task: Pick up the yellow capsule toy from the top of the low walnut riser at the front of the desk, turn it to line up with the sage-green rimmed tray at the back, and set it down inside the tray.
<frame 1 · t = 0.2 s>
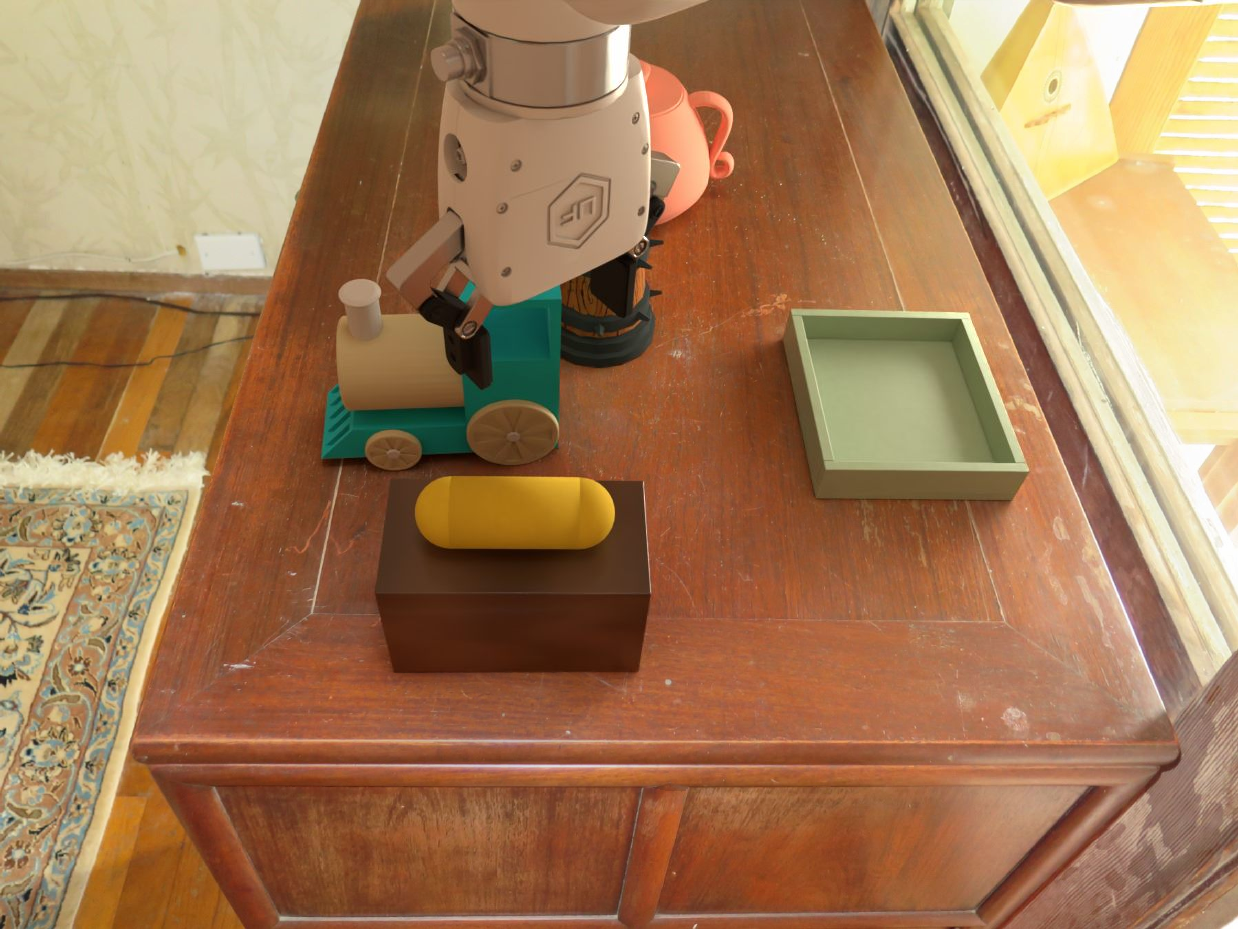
hand: (543, 337, 56), 17 cm above the table, tool pointing down, fingers open, 9 cm apart
toy train: (442, 430, 73), on the table
teapot: (612, 192, 93), on the table
yellow capsule toy: (516, 533, 56), point 9 cm above the table, touching riser
riser: (518, 615, 63), on the table
mug: (578, 327, 81), on the table
tray: (890, 414, 77), on the table
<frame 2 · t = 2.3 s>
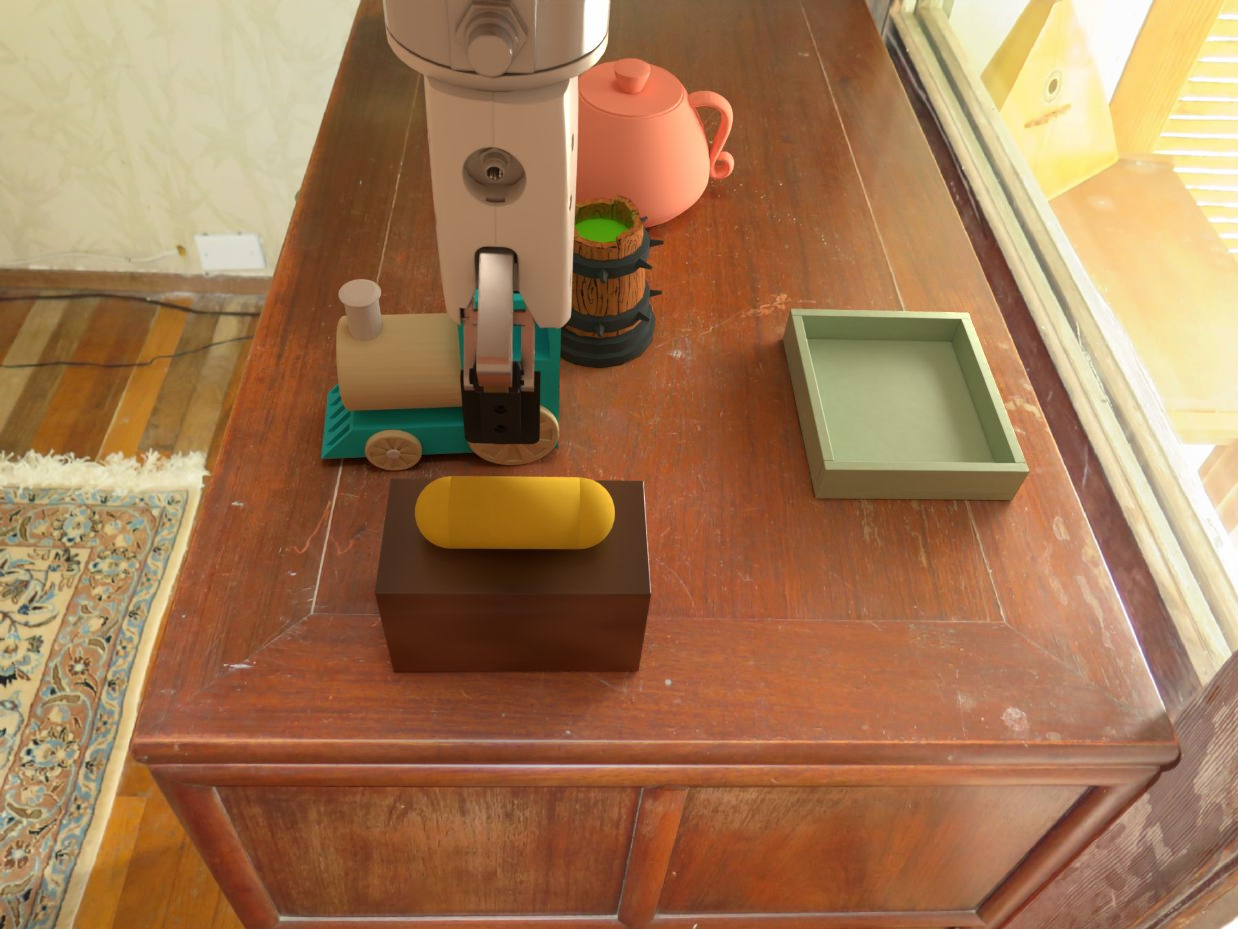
hand: (506, 359, 46), 23 cm above the table, tool pointing down, fingers open, 9 cm apart
nothing on the table moved.
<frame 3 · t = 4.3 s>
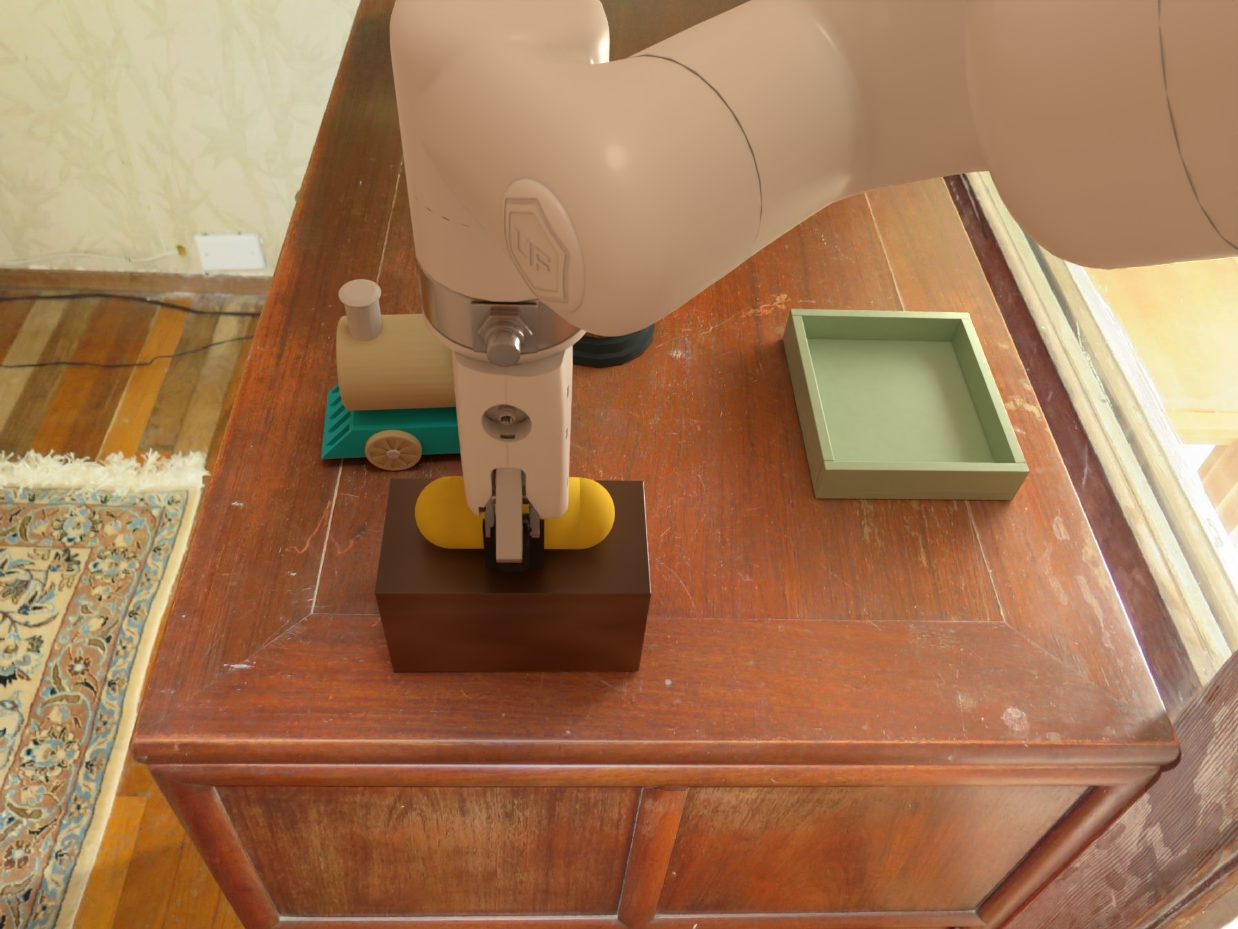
hand: (516, 528, 56), 10 cm above the table, tool pointing down, fingers closed on yellow capsule toy, 4 cm apart
yellow capsule toy: (516, 533, 56), point 9 cm above the table, touching gripper, riser
everything else where it was.
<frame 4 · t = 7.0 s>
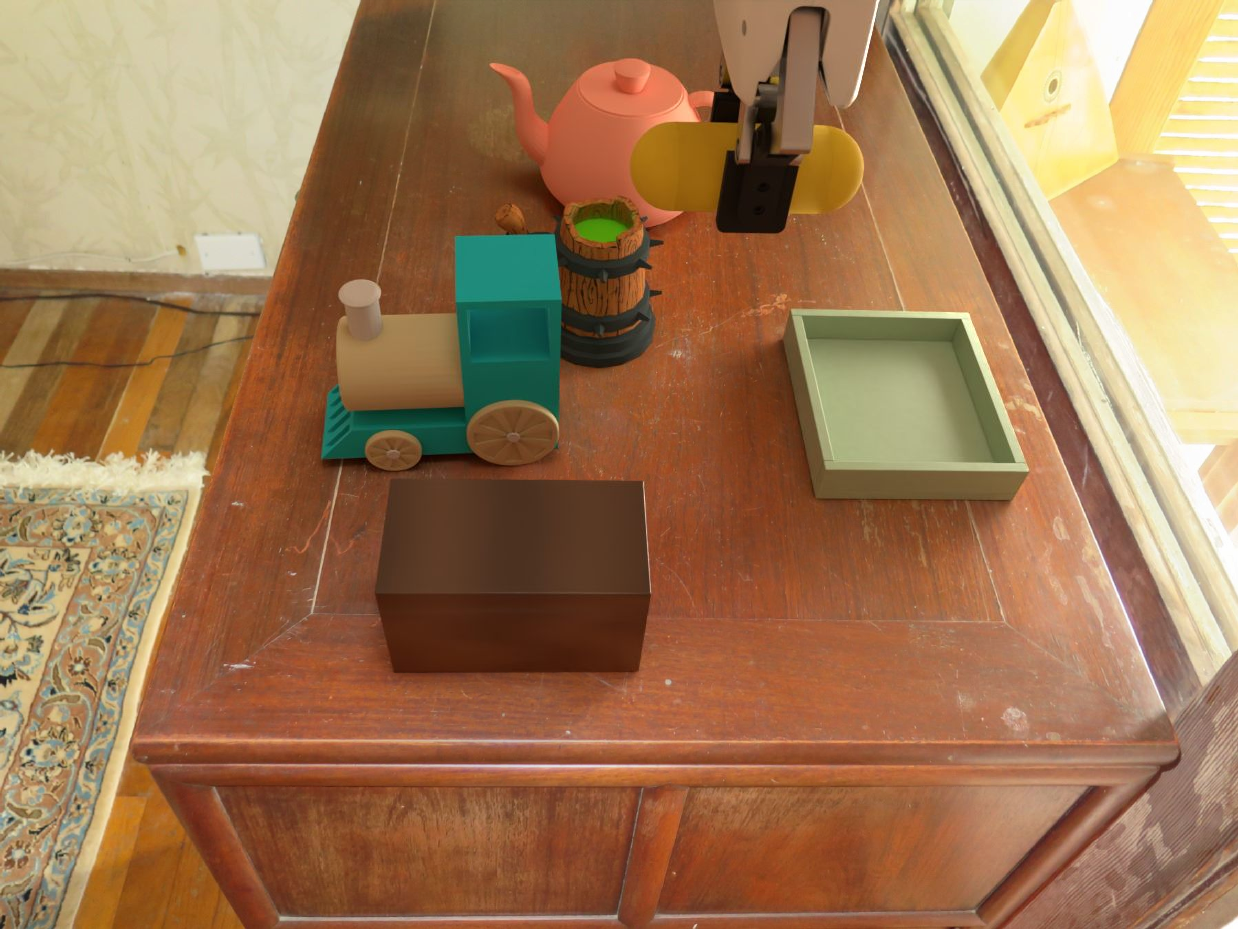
hand: (742, 195, 47), 27 cm above the table, tool pointing down, fingers closed on yellow capsule toy, 4 cm apart
yellow capsule toy: (740, 204, 48), point 27 cm above the table, touching gripper
everything else where it was.
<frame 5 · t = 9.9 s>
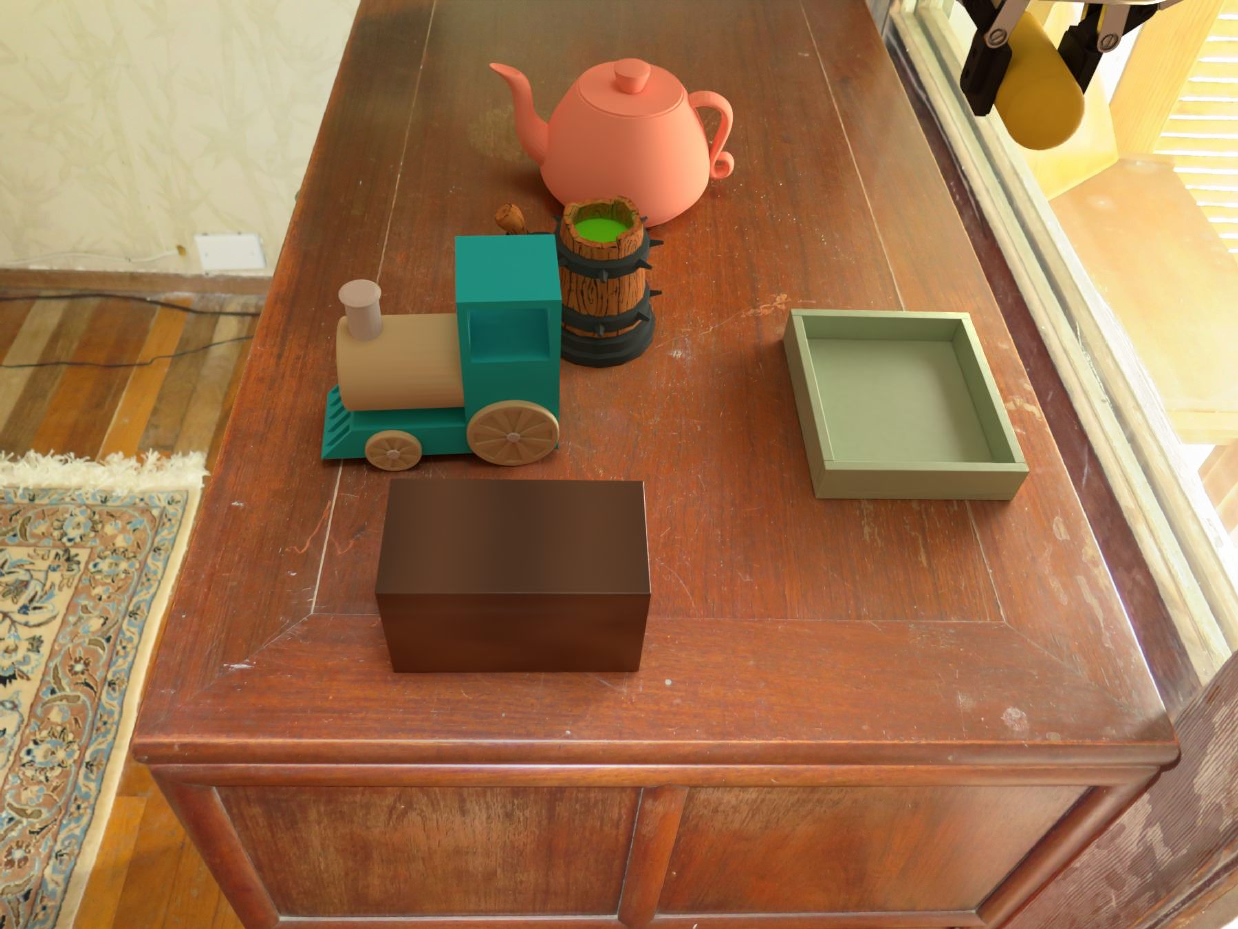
hand: (1015, 102, 56), 26 cm above the table, tool pointing down, fingers closed on yellow capsule toy, 4 cm apart
yellow capsule toy: (1011, 109, 57), point 26 cm above the table, touching gripper
everything else where it was.
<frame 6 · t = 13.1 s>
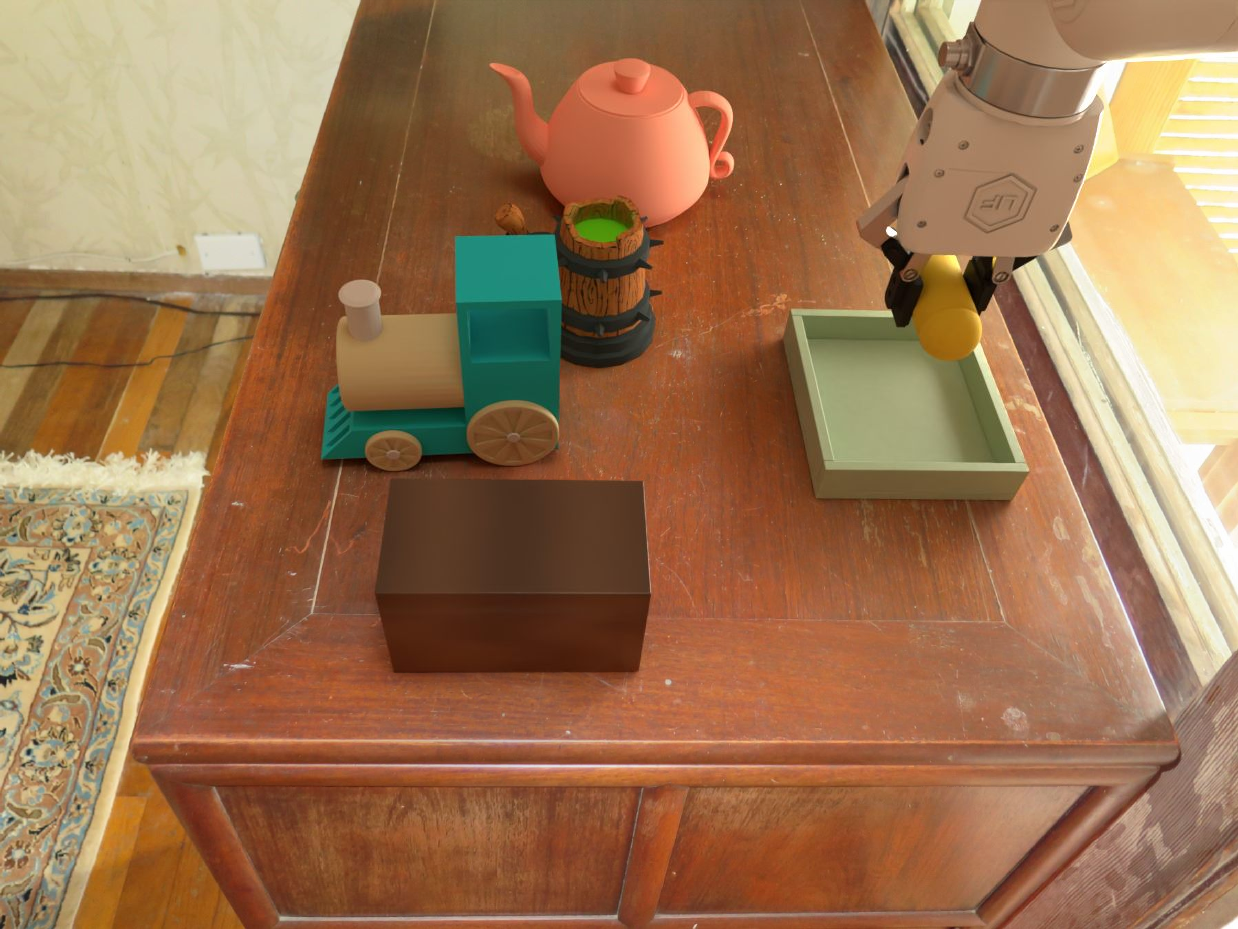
hand: (930, 312, 69), 10 cm above the table, tool pointing down, fingers closed on yellow capsule toy, 4 cm apart
yellow capsule toy: (928, 317, 69), point 10 cm above the table, touching gripper
everything else where it was.
when the fingers open (1 cm above the table, at t = 15.5 s): yellow capsule toy stays where it is, resting on tray.
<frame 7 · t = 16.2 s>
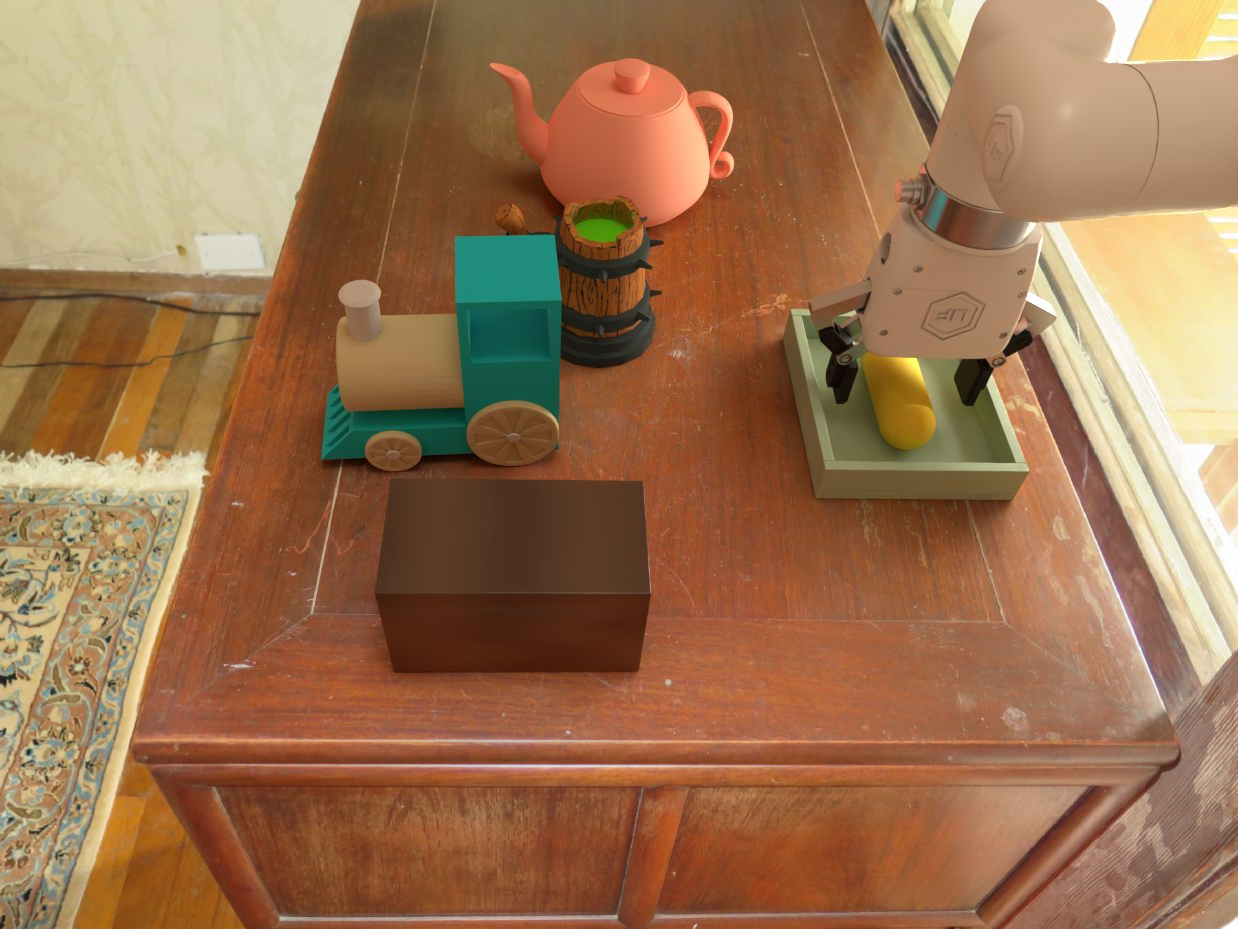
hand: (900, 391, 75), 3 cm above the table, tool pointing down, fingers open, 9 cm apart
yellow capsule toy: (892, 406, 76), point 1 cm above the table, tilted 7°, touching tray
everything else where it was.
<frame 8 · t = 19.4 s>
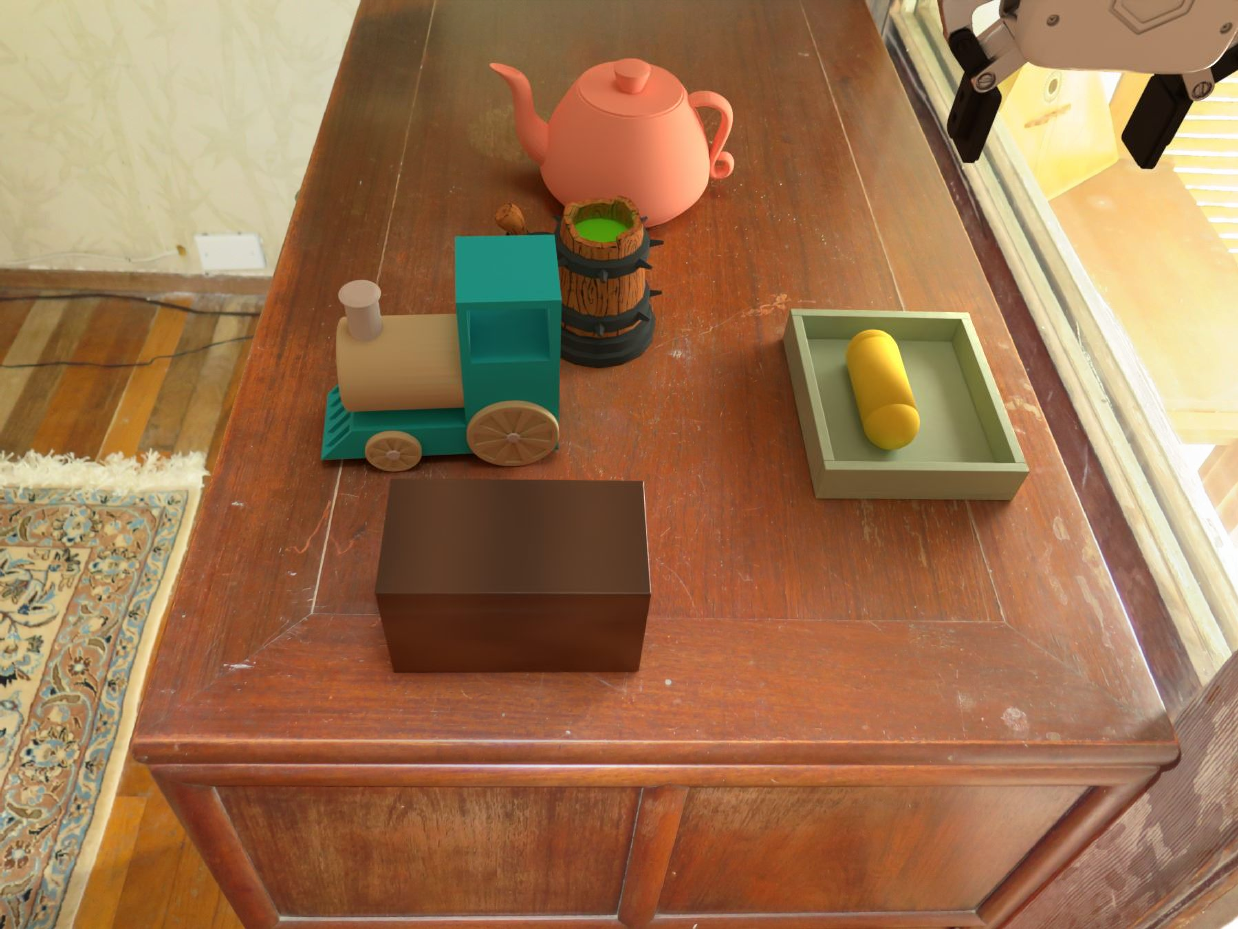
hand: (1049, 151, 53), 26 cm above the table, tool pointing down, fingers open, 9 cm apart
yellow capsule toy: (893, 401, 76), point 1 cm above the table, tilted 42°, touching tray
everything else where it was.
at the end: yellow capsule toy inside the target area in the tray (0.2 cm from its centre), point 1.4 cm above the tray's base; the gripper is holding nothing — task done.
